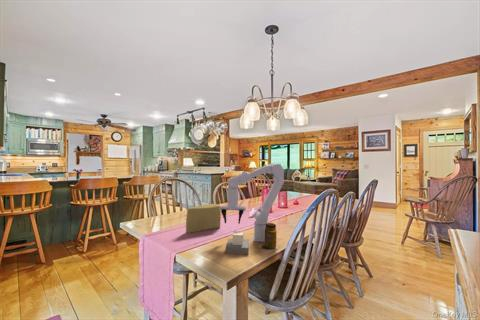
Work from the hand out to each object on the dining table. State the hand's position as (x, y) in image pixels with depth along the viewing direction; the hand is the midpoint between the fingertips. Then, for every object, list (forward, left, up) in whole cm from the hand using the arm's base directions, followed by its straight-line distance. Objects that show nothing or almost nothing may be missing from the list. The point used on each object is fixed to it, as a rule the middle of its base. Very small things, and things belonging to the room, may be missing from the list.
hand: (232, 223), depth 124 cm
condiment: (-20, +9, -10) cm, 24 cm away
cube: (-4, +12, -6) cm, 14 cm away
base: (-4, +12, -9) cm, 16 cm away
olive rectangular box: (+20, -16, -10) cm, 27 cm away
